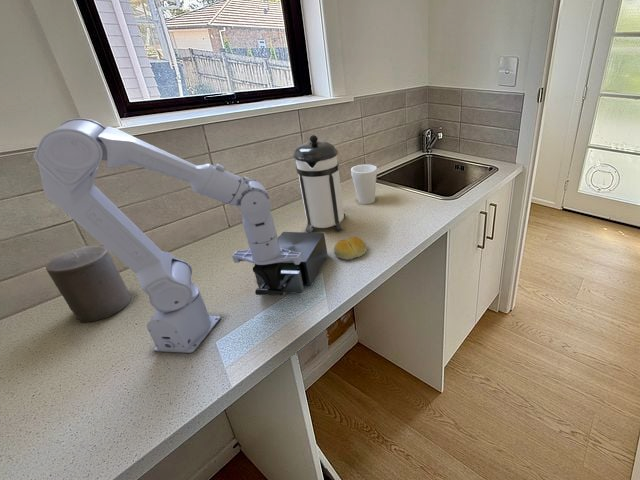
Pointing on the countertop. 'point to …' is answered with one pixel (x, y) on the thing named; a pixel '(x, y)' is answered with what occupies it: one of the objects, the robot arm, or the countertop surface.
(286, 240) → the drawer cabinet
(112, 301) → the pillar candle
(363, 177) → the foam cup
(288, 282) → the dish drawer
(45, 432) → the countertop surface
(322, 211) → the coffee press
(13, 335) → the countertop surface
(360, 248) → the bread roll
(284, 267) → the green short cylinder
